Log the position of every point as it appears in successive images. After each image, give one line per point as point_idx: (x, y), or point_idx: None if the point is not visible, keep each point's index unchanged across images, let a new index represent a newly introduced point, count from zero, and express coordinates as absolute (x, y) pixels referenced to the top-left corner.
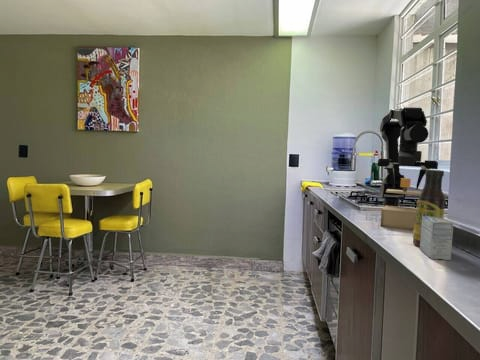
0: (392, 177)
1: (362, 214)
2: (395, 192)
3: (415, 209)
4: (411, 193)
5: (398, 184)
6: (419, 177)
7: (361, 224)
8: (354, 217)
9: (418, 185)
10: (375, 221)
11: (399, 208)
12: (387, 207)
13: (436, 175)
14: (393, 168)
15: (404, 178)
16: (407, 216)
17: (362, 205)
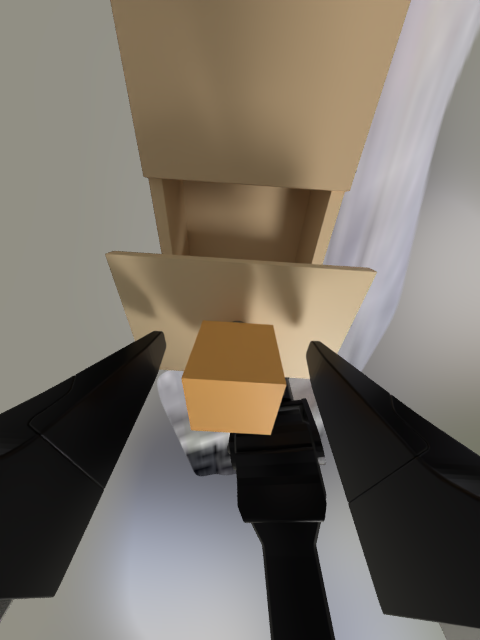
0: (378, 402)
1: (354, 321)
2: (303, 265)
3: (181, 176)
4: (192, 258)
5: (262, 451)
6: (66, 399)
7: (456, 26)
8: (409, 246)
9: (134, 343)
10: (343, 201)
11: (267, 148)
12: (338, 142)
13: None
14: (434, 602)
15: (245, 406)
16: None
17: (320, 427)
